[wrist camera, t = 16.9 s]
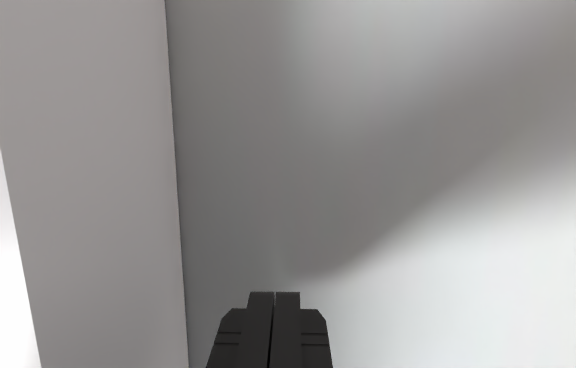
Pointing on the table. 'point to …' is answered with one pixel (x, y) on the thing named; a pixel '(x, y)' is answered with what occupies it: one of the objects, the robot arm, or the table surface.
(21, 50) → the tray
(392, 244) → the table surface
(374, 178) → the table surface
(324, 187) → the table surface
